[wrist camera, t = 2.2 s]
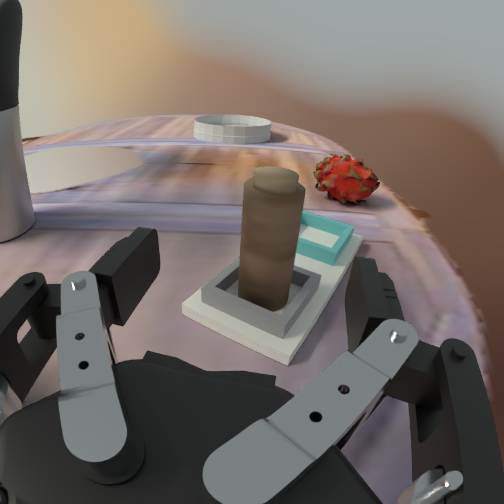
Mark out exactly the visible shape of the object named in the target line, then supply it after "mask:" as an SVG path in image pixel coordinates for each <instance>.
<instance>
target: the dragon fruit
mask: <svg viewBox="0 0 504 504" xmlns="http://www.w3.org/2000/svg"><path fill="white" fill-rule="evenodd" d="M330 155H332V156H333V157H332V158H331V157H326V158H325V159H324V160H323V162H320V163H318V164H317V166H316V171H315V172H313V173H314V176H315V178H316V179H317V180H318V183H319V184H320V185H321V186H319V187H318V183H317V184H316V186H315V187H316V188H317V190H319V191H323V192H325V191H328V197H329V198H330V199H332V198H335V197H336V198H337V200H338V201H339V202H342V203H341V204H344V203H346V201H350V202H354V203H356V204H362V203H364V202H365V200H358V199H362V198H365V197H368V196H369V195H371V194H372V192H374V191H375V190H376V189H377V188H378V187H379V184H380V182H378V181H377V180H378V178H377V176H376V175H375V174H374V173H373V172H372V170H371V168H368V167H365V166H363V160H362V159H361V158H358V159H356V160H352V159H351V156H350V155H346V154H345V155H343V157H342V156H341V157H338V155H336V154H330Z"/></svg>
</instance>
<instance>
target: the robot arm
mask: <svg viewBox="0 0 504 504" xmlns="http://www.w3.org/2000/svg"><path fill="white" fill-rule="evenodd" d="M21 33H22V8H21V5H20V3H19V1H18V0H0V242H4V241H7V240H10V239H13V238H15V237H17V236H19V235H21V234H22V233H24V232H26V231H27V230H28V229H29V228H30V227H31V226H32V225H33V224H34V222H35V215H34V210H33V206H32V201H31V196H30V191H29V185H28V179H27V173H26V167H25V161H24V153H23V145H22V137H21V128H20V117H19V106H18V104H19V102H18V87H19V53H20V43H21ZM159 270H160V253H159V243H158V234H157V231H156V230H155V229H150V228H142V227H138V228H137V229H136V230H135V231H134V232H133V233H132V234H131V235H130V236H129V237H125V238H123V239H121V240H120V241H118V242H116V243H115V244H114V245H113V246H112V247H111V248H110V250H108V251H107V252H106V253H105V254H104V256H102V257H101V258H100V259H99V260H98V261H97V262H96V263H95V264H94V265H93V266H92V267H91V268H90V270H89V271H79V272H75V273H72V274H70V275H68V276H67V277H66V278H64V280H63V281H62V283H61V284H47V283H46V280H45V277H44V275H43V274H42V273H39V272H32V273H28V274H25V275H23V276H22V277H20V278H19V279H18V280H17V281H16V282H15V283H14V284H13V285H12V286H11V287H10V288H9V289H8V290H7V291H6V292H5V293H4V295H3V296H2V297H1V298H0V504H383V503H382V502H381V501H380V499H379V498H378V497H377V496H376V495H375V493H374V492H373V491H372V490H371V488H370V487H369V486H368V485H367V483H366V482H365V481H364V480H363V478H362V477H361V476H360V475H359V473H358V472H357V471H356V470H355V468H354V467H353V466H352V465H351V463H350V462H349V461H348V460H347V458H346V457H345V456H344V454H343V453H342V451H343V450H344V448H345V447H346V446H347V445H348V444H349V443H350V441H351V440H352V439H353V438H354V436H355V435H356V434H357V433H358V431H359V430H360V429H361V428H362V427H363V425H364V424H365V423H366V422H367V421H368V419H369V418H370V417H371V416H372V415H373V413H374V412H375V411H376V410H377V408H378V407H379V406H380V405H381V403H382V402H383V401H384V400H385V398H386V397H387V396H390V397H392V398H395V399H398V400H402V401H405V402H408V406H409V417H410V431H411V448H412V483H411V484H410V485H408V486H407V487H406V488H405V489H404V490H403V491H402V492H401V493H400V495H399V497H398V501H397V504H504V472H503V466H502V460H501V454H500V448H499V443H498V438H497V433H496V429H495V424H494V420H493V415H492V411H491V407H490V403H489V400H488V396H487V392H486V389H485V385H484V382H483V378H482V375H481V372H480V368H479V365H478V362H477V359H476V356H475V353H474V351H473V350H472V348H471V347H470V346H469V345H468V344H466V343H465V342H463V341H461V340H458V339H452V338H451V339H447V340H445V341H444V342H443V343H442V344H441V346H440V348H439V347H436V346H433V345H430V344H427V343H425V342H422V341H420V340H419V336H418V333H417V331H416V330H415V329H414V327H413V326H411V325H410V324H409V323H407V322H405V320H404V317H403V313H402V310H401V306H400V303H399V300H398V299H397V298H398V297H397V293H396V292H395V287H394V284H393V281H392V280H391V279H390V278H389V277H388V275H387V274H386V273H381V272H378V269H377V265H376V262H375V259H371V258H364V257H357V256H356V257H355V259H354V263H353V267H352V270H351V274H350V278H349V282H348V285H347V289H346V294H345V312H346V323H347V335H348V348H349V350H347V351H345V352H344V353H343V354H342V355H341V356H339V357H338V358H337V359H336V360H335V361H334V362H333V363H332V364H331V365H330V366H329V367H328V368H326V369H325V370H324V371H323V372H322V373H321V374H320V375H319V376H317V377H316V378H315V379H314V380H313V381H312V382H311V383H309V384H308V385H307V386H306V387H305V388H304V389H303V390H301V391H300V392H299V393H298V394H297V395H293V394H291V393H290V392H288V391H286V390H284V389H282V388H280V387H277V386H275V380H276V376H273V375H266V374H260V373H253V372H247V371H205V370H202V369H200V368H198V367H196V366H194V365H191V364H189V363H187V362H185V361H183V360H181V359H178V358H176V357H172V356H167V355H163V354H159V353H155V352H151V351H147V352H146V354H145V356H144V358H143V359H136V360H127V361H123V362H119V363H118V360H117V356H116V352H115V348H114V344H113V339H112V335H111V331H110V326H111V325H112V324H115V325H119V326H124V325H125V323H126V322H127V320H128V319H129V317H130V316H131V314H132V313H133V311H134V310H135V308H136V307H137V305H138V304H139V302H140V301H141V299H142V298H143V296H144V295H145V293H146V292H147V290H148V289H149V287H150V286H151V284H152V283H153V281H154V280H155V279H156V277H157V276H158V273H159ZM27 319H28V322H29V324H30V326H31V329H30V330H29V331H28V333H27V334H26V335H25V337H24V338H23V339H22V341H21V342H20V344H19V343H18V341H17V333H18V330H19V329H20V327H21V326H22V325H23V323H24V322H25V321H26V320H27ZM56 348H57V354H58V368H59V380H60V389H61V390H60V391H58V392H56V393H54V394H52V395H50V396H48V397H46V398H43V399H41V400H39V401H37V402H35V403H33V404H31V405H29V406H26V407H24V408H22V403H23V401H24V399H25V397H26V396H27V394H28V392H29V391H30V389H31V387H32V386H33V384H34V382H35V381H36V379H37V378H38V376H39V374H40V373H41V371H42V370H43V368H44V366H45V365H46V363H47V362H48V360H49V359H50V357H51V355H52V354H53V352H54V351H55V349H56Z"/></svg>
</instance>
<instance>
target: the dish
mask: <svg viewBox="0 0 504 504" xmlns="http://www.w3.org/2000/svg"><path fill="white" fill-rule="evenodd" d="M240 123H241V124H240ZM270 128H271V122H270V121H269V120H266V119H263V118H258V117H253V116H245V115H207V116H201V117H198V118H196V119H195V128H194V137H195V138H197V139H200V140H203V141H208V142H215V143H225V144H255V143H262V142H266V141H268V140H270V137H271V131H270Z"/></svg>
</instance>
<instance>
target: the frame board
mask: <svg viewBox="0 0 504 504" xmlns="http://www.w3.org/2000/svg"><path fill="white" fill-rule="evenodd" d="M353 230H354V226H351V225H348V224H345V223H342V222H339V221H335V220H332V219H329V218H326V217H323V216H320V215H316V214H313V213H310V212H307V211H302V218H301V224H300V231H299V237H298V243H297V249H296V256H295V262H294V268H293V274H292V280H291V285H290V291H289V297H288V301H287V304H286V305H285V306H284V307H283V308H281V309H280V310H278V311H274V312H272V311H269V310H267V309H265V308H262V307H260V306H258V305H255V304H253V303H251V302H249V301H246V300H244V299H242V298H239V297H238V281H239V263H240V256H239V257H238V258H237V259H235V260H234V261H233V262H232V263H231V264H229V265H228V266H227V267H226V268H224V269H223V270H222V271H221V272H220V273H218V274H217V275H216V276H215V277H213V278H212V279H211V280H210V281H209V282H207V283H206V284H205V285H204V286H203V287H201V288H200V289H199V290H198V291H196V292H195V293H194V294H193V295H192V296H190V297H189V298H188V299H187V300H186V301H184V302H183V303H182V313H183V315H185V316H187V317H189V318H191V319H193V320H194V321H196V322H198V323H200V324H202V325H204V326H206V327H208V328H210V329H212V330H214V331H216V332H218V333H220V334H222V335H224V336H226V337H228V338H230V339H232V340H234V341H236V342H238V343H240V344H242V345H244V346H246V347H248V348H250V349H252V350H254V351H256V352H259V353H261V354H263V355H265V356H267V357H269V358H271V359H274V360H276V361H278V362H280V363H282V364H284V365H287V366H288V365H289V363H290V362H291V360H292V359H293V357H294V356H295V354H296V352H297V351H298V349H299V348H300V346H301V345H302V343H303V342H304V340H305V339H306V337H307V335H308V334H309V332H310V331H311V329H312V327H313V326H314V324H315V323H316V321H317V319H318V318H319V316H320V315H321V313H322V311H323V310H324V308H325V306H326V305H327V303H328V301H329V300H330V298H331V296H332V295H333V293H334V291H335V290H336V288H337V286H338V284H339V283H340V281H341V279H342V277H343V276H344V274H345V272H346V270H347V269H348V267H349V265H350V263H351V262H352V260H353V258H354V256H355V254H356V253H357V251H358V249H359V247H360V245H361V242H362V238H363V236H360V235H357V234H354V233H353Z"/></svg>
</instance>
